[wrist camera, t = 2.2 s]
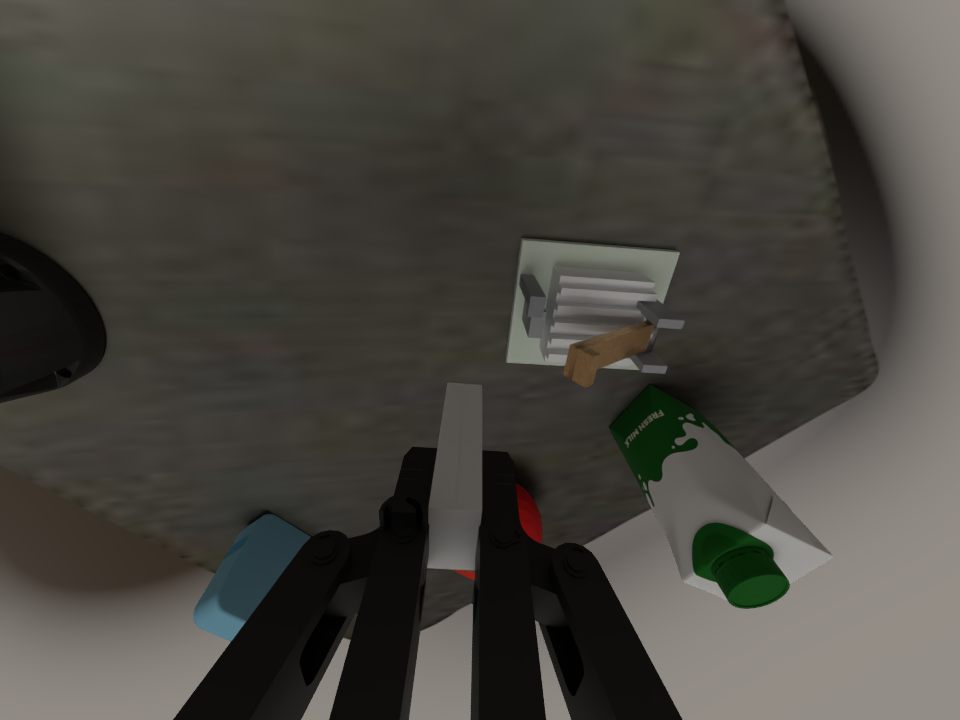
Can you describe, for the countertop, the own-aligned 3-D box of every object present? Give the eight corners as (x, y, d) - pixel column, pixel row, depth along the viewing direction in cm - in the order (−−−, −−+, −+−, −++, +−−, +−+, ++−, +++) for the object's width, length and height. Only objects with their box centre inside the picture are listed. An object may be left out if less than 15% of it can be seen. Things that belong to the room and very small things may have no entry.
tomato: (541, 512, 50) (557, 593, 41) (453, 529, 51) (451, 611, 42) (526, 452, 45) (541, 528, 36) (429, 471, 46) (419, 551, 37)
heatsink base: (505, 357, 38) (514, 403, 31) (521, 237, 33) (536, 260, 26) (636, 365, 39) (673, 410, 32) (674, 249, 33) (729, 275, 26)
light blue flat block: (244, 523, 49) (184, 623, 39) (265, 508, 48) (209, 607, 37) (316, 564, 54) (280, 663, 43) (337, 551, 53) (305, 650, 42)
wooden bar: (560, 375, 27) (584, 390, 25) (568, 340, 25) (594, 354, 24) (642, 345, 33) (665, 355, 31) (651, 315, 31) (676, 324, 30)
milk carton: (649, 373, 40) (792, 545, 22) (707, 407, 42) (877, 585, 25) (597, 429, 43) (685, 615, 26) (653, 457, 46) (769, 644, 28)
